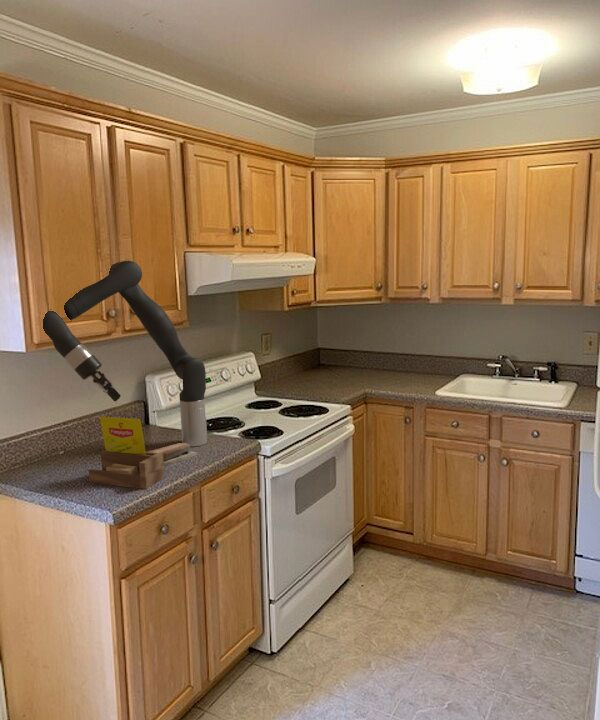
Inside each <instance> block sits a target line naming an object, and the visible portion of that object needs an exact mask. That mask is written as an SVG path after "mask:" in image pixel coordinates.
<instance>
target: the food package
mask: <svg viewBox="0 0 600 720" xmlns="http://www.w3.org/2000/svg"><path fill="white" fill-rule="evenodd" d="M99 422H100V425H101V432H102V437H103V443H104V449H105V451H109V452H120V453H131V454H142V455H146V452H147V451H146V445H145V440H144V434H143V427H142V421H141V419H140V418H126V417H111V416H99Z"/></svg>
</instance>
